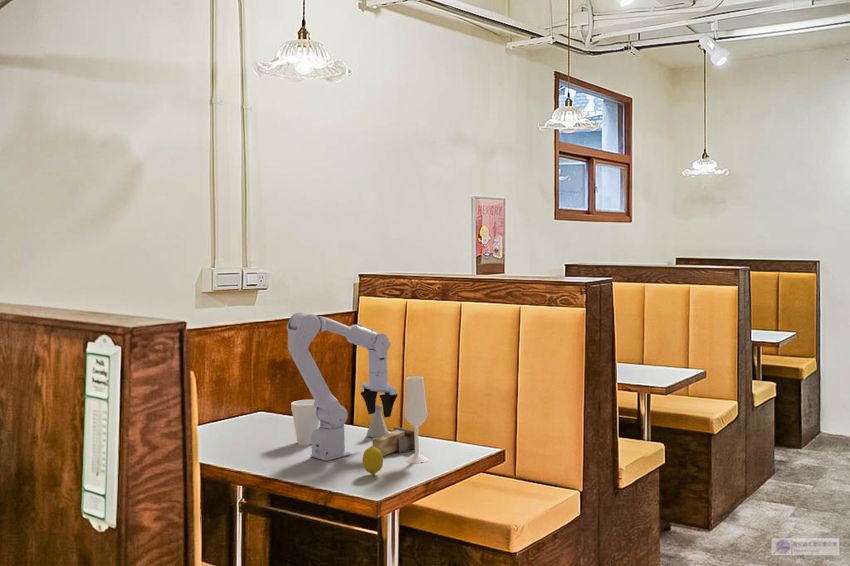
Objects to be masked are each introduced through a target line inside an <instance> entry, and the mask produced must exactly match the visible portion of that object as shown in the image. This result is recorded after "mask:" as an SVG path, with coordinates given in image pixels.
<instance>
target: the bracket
mask: <svg viewBox="0 0 850 566" xmlns="http://www.w3.org/2000/svg"><path fill="white" fill-rule="evenodd" d="M396 430H400V431H404V432H405V437H403V438H399V439H398V450H397V451H395V452H394V453H395V454H404V453H407V451H408V452H411V451H412V450H413V452H415V437H414V430H413V429H409V428H406V427H405V428H404V427H400V426H393V431H396ZM410 450H411V451H410Z"/></svg>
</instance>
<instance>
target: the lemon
mask: <svg viewBox="0 0 850 566" xmlns="http://www.w3.org/2000/svg"><path fill="white" fill-rule="evenodd" d="M383 464H384V456H382V453H381V451H380V450H379V449H378V448H376V447H374V446H373V445H371V446H370V447H368V448H366V449H365V451H364V452H363V455H362V465H363V468H364V470H365V472H367V473H369V474H370V475H372V476H375V475H376V473H378V472H380V471H381V470H382V467H383Z"/></svg>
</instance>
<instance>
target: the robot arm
mask: <svg viewBox="0 0 850 566" xmlns="http://www.w3.org/2000/svg"><path fill="white" fill-rule="evenodd" d="M285 327H286V331H287V349H288V352H289V354H290V356H291V358H292V361H294V364H295V365H296V368H297V369H298V371H299V373H300V375H301V377H302V378H303V381H304V382H305V385H306V386H307V389H309V392H310V394H311V396H312V398H313V400H315V401H314V406H315V408H316V416H317V418H318V419H319V420H320V422H319V428H318V429H316V430H314V431H313V432H312V445H311V454H310V457H312V458H315V459H319V460H321V461H325V462H326V461H331V460H334V459H338V458H343V457H346V456H351V455H352V453H351V452H349V451H346V448H345V447H346V443H345V441H346V440H345V424H346V423H347V420H348V416H349V415H348V411H347V409H346V408H345V407H344V406H343V405H341V404H340V402H339V400H338V399H337V398H336V397H335V396H334V395H333V394H332V392H331V390H330V388H329V386H328V384H327V383H326V381H325V379H324V377H323V375H322V373H321V370H320V369H319V367H318V365H317V363H316V361H315V360H314V358H313V356H312V354H311V352H310V351H309V347H310V345H311V343H312V342H313V340H314V339H315V337H316V336H317V334H318V333H319V332H321V333H322V332H325V331H328V332H329V333H334V334H337V335H340V336H343V337H345V338H346V341H347V342H348V343H350V344H353V345H356V346H359V347H362V348H365V349H366V350H368V382H364V383H361V390H363V391H360V395H361V397H362V399H363V400H364V401H363V402H364V403H365V406H366V410H367V413H368V415H373V413H375V406H376V405H377V404H376V402H377V396H378V393H382V394H380V395H379V398H380V401H381V405H382V415H383V418H390V417H391V416H392V412H393V411H392V410H393V407H394V405H395V402H396V400H397V398H398V392H397V387H395V386H392V385H391V384H390V383H389V381H388V379H389V377H388V375H389V374H388V351H389V349H390V347H391V345H392V344H391V342H392V341H390V340H389V337H388V336H387V335H386V334H385V333H380V332H377V331H376V329H373V328H372V329H369V328H367V327H364V324H361V323H357V324H356V323H355V324H352V325H350V326H349V325H347V324H343V323H341V322H339V321H336V320H334V319H332V318H329V317H327V316H321V315H320V316H319V315H315V314H311V313H310V314H307V313H303V312H296V313H294V314H292V315H291V316H290V318H289V320H288V323H287V324H286V326H285Z"/></svg>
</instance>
